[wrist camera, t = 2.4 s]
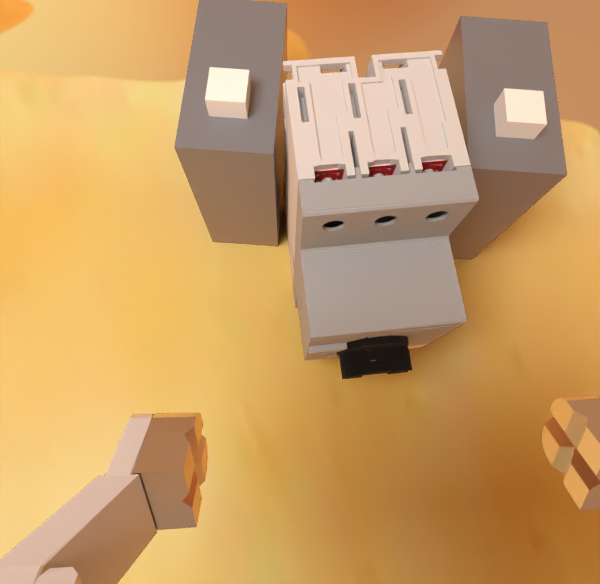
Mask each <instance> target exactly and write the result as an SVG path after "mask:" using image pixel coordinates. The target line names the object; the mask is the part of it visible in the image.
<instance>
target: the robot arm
mask: <svg viewBox="0 0 600 584" xmlns="http://www.w3.org/2000/svg"><path fill="white" fill-rule="evenodd" d="M550 412H551V413H552V415H553V418H552V419H551V420H549V421H548V422H547V423H546V424H545V425H544V428H543V431H542V435H541V436H542V446H543V449H544V452H545V455H546V457H547V459H548V460H549V462H550V464H551V465H552V466H553V467H554V468H556V469H557V470H559V471H560V472H562V473H563V474H564V478H563V484H564V486H565V487H566V489H567V491H568V492H569V494H570V495H571V497H572V498H573V500H574V502H575V503H576V505H577V506H578V508H579V509H580V510H600V396H585V397H565V398H557V399H556V400H555V401H554V402H553V403H552V405H551V408H550ZM202 428H203V422H202V417H201V414H200V413H155V414H133V415H132V416H131V417H130V418H129V419H128V421H127V424H126V426H125V429H124V431H123V433H122V436H121V438H120V441H119V443H118V446H117V448H116V450H115V453H114V455H113V458H112V460H111V462H110V465H109V467H108V470H107V472H106V474H105V476H98V477H96V478H95V479H94V480H93V481H92V482H91V483H89V484H88V485H87V486H86V487H85V488H83V489H82V490H81V491H80V492H79V493H78V494H76V495H75V496H74V497H73V498H72V499H71V500H69V501H68V502H67V503H66V504H65V505H64V506H62V507H61V508H60V509H59V510H58V511H57V512H55V513H54V514H53V515H52V516H51V517H50V518H48V519H47V520H46V521H45V522H44V523H42V524H41V525H40V526H39V527H38V528H37V529H35V530H34V531H33V532H32V533H31V534H30V535H28V536H27V537H26V538H25V539H24V540H23V541H21V542H20V543H19V544H18V545H17V546H16V547H14V548H13V549H12V550H11V551H10V552H9V553H7V554H6V555H5V556H4V557H3V558H1V559H0V584H117V583H118V582H119V581H120V579H121V578H122V577H123V576H124V574H125V573H126V572H127V570H128V569H129V568H130V567H131V565H132V564H133V563H134V561H135V560H136V559H137V558H138V556H139V555H140V554H141V552H142V551H143V550H144V549H145V547H146V546H147V545H148V543H149V542H150V541H151V540H152V538H153V537H154V536H155V534H156V533H157V531H156V530H163V529H177V528H191V527H197V522H198V517H199V511H200V506H201V500H202V497H201V492H200V485H201V484H202V483H203V482H204V481H205V478H206V472H207V460H208V452H207V443H206V438H205V437H204V436H202V435H201V433H202Z"/></svg>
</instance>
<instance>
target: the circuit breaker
mask: <svg viewBox="0 0 600 584" xmlns="http://www.w3.org/2000/svg"><path fill="white" fill-rule="evenodd" d="M441 56H442V51H441V50H439V51H424V52H410V53H395V54H381V55H372V56H371V60H370V63H369V67H368V70H367V73H366V77H363V78H358V74H357V69H356V64H355V58H354V56H353V57H339V58H338V57H337V58H323V59H308V60H294V61H283V71H291V80H285V83H283V120H284V129H285V177H284V202H285V206H284V211H285V214H286V228H287V237H288V246H289V254H290V263H291V272H292V281H293V289H294V298H295V307H296V308H298V309H299V317H300V326H301V334H302V343H303V352H304V360H313V359H322V358H331V357H340V365H341V373H342V379H350V378H359V377H362V376H363V375H372V374H380V373H387V374H394V373H403V372H408V371H409V370H412V366H411V361H410V355H409V349H413V348H422V347H423V346H425V345H427V344H429V343H431V342H432V341H434V340H436V339H438V338H440V337H441V336H443V335H445V334H447V333H449V332H450V331H452V330H454V329H456V328H457V327H459V326H461V324H463V323H466V322H467V317H466V312H465V308H464V304H463V299H462V295H461V290H460V286H459V281H458V277H457V273H456V268H455V264H454V259H453V255H452V250H451V246H450V241H449V235H450V234H451V233H452V231H453V230H454V229H455V228H456V227H457V226H458V224H459V223H460V222H461V221H462V220H463V219H464V217H465V216H466V215H467V214H468V213H469V212H470V210H471V209H472V208H473V207H474V206H475V205H476V203H477V202H478V201H479V196H478V192H477V188H476V184H475V180H474V176H473V172H472V168H471V166H470V165H471V164H470V160H469V156H468V152H467V149H466V145H465V141H464V137H463V133H462V129H461V125H460V121H459V117H458V113H457V110H456V106H455V102H454V98H453V94H452V90H451V86H450V82H449V78H448V75H447V71H446V69H438V67H437V63H436V61H437V60H440V59H441ZM399 64H400V65H399ZM384 65H399V67H398V68H391V69H383V67H382V66H384ZM328 69H340V72H336V73H321V70H328Z"/></svg>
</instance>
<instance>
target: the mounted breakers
mask: <svg viewBox="0 0 600 584" xmlns="http://www.w3.org/2000/svg"><path fill="white" fill-rule="evenodd" d="M550 49H551V48H550V41H549V33H548V25H547V22H535V21H520V20H507V19H494V18H481V17H467V16H461V17H460V19H459V21H458V24H457V26H456V28H455V31H454V34H453V35H452V38H451V40H450V43H449V45H448V47H447V50H446V52H445V54H444V57H443V59H442V61H441V64H440V66H439V68H438V69H446V71H447V75H448V78H449V82H450V86H451V90H452V94H453V98H454V102H455V106H456V110H457V113H458V117H459V121H460V125H461V129H462V133H463V137H464V141H465V145H466V149H467V152H468V156H469V160H470V164H471V165H470V166H471V168H472V172H473V176H474V180H475V184H476V188H477V192H478V196H479V201H478V202H477V203H476V205H475V206H474V207H473V208H472V209H471V210H470V212H469V213H468V214H467V215H466V216H465V217H464V219H463V220H462V221H461V222H460V223H459V224H458V226H457V227H456V228H455V229H454V230H453V231H452V233H451V234H450V235H449V241H450V246H451V250H452V255H453V258H459V259H473V258H474V257H475V256H476V255H477V254H479V253H480V252H481V251H482V250H483V249H484V248H485V247H486V246H488V245H489V244H490V243H491V242H492V241H493V240H494V239H495V238H497V237H498V236H499V235H500V234H501V233H502V232H503V231H504V230H506V229H507V228H508V227H509V226H510V225H511V224H512V223H513V222H515V221H516V220H517V219H518V218H519V217H520V216H521V215H522V214H524V213H525V212H526V211H527V210H528V209H529V208H530V207H531V206H533V205H534V204H535V203H536V202H537V201H538V200H539V199H540V198H542V197H543V196H544V195H545V194H546V193H547V192H548V191H549V190H551V189H552V188H553V187H554V186H555V185H556V184H557V183H558V182H560V181H561V180H562V179H563V178H564V177H565V176H566V175H567V171H566V163H565V156H564V148H563V140H562V133H561V125H560V117H559V110H558V102H557V95H556V88H555V79H554V72H553V64H552V56H551V50H550ZM283 61H287V3H276V2H263V1H250V0H199V5H198V11H197V17H196V23H195V28H194V35H193V40H192V46H191V52H190V58H189V65H188V70H187V77H186V82H185V88H184V94H183V100H182V106H181V112H180V118H179V123H178V129H177V135H176V141H175V150H176V152H177V155H178V157H179V160H180V162H181V164H182V167H183V169H184V172H185V174H186V177H187V179H188V182H189V184H190V187H191V189H192V191H193V194H194V196H195V199H196V201H197V204H198V206H199V209H200V211H201V214H202V216H203V218H204V221H205V223H206V226H207V228H208V231H209V233H210V236H211V238H212V241H213V242H225V243H239V244H254V245H269V246H278V240H279V227H280V215H281V203H282V191H283V179H284V167H285V129H284V120H283V83H285V80H287V71H283Z"/></svg>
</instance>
